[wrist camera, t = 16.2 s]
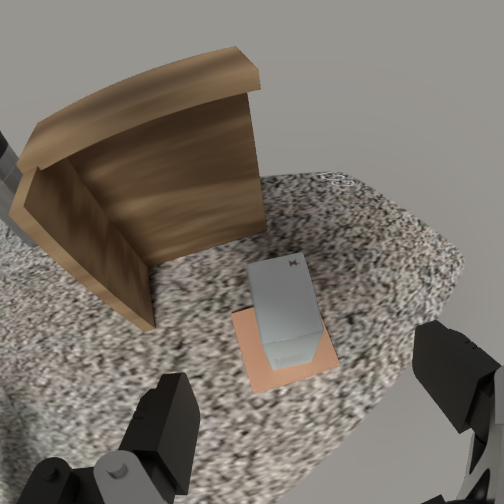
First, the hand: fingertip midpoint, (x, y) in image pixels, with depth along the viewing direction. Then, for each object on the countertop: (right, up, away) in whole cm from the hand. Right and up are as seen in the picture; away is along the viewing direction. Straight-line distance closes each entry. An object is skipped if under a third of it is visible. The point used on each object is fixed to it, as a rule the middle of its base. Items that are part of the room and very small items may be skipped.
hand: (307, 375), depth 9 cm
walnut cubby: (-6, +1, +26) cm, 27 cm away
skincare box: (+2, -5, +20) cm, 21 cm away
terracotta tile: (+2, -5, +21) cm, 21 cm away
